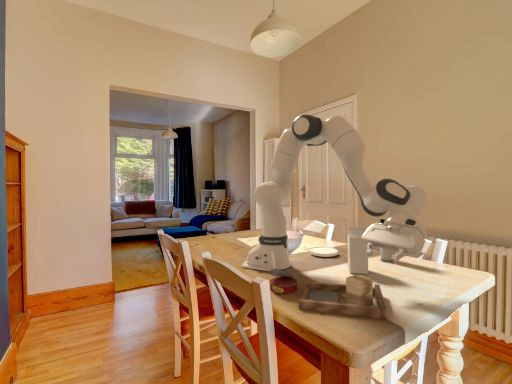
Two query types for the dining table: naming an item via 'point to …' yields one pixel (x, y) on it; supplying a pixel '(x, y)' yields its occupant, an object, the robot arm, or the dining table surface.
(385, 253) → the travel mug
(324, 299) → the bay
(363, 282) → the tan wooden block
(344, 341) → the dining table surface
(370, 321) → the dining table surface
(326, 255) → the plastic lid
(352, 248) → the milk carton
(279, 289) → the canned food
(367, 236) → the robot arm
